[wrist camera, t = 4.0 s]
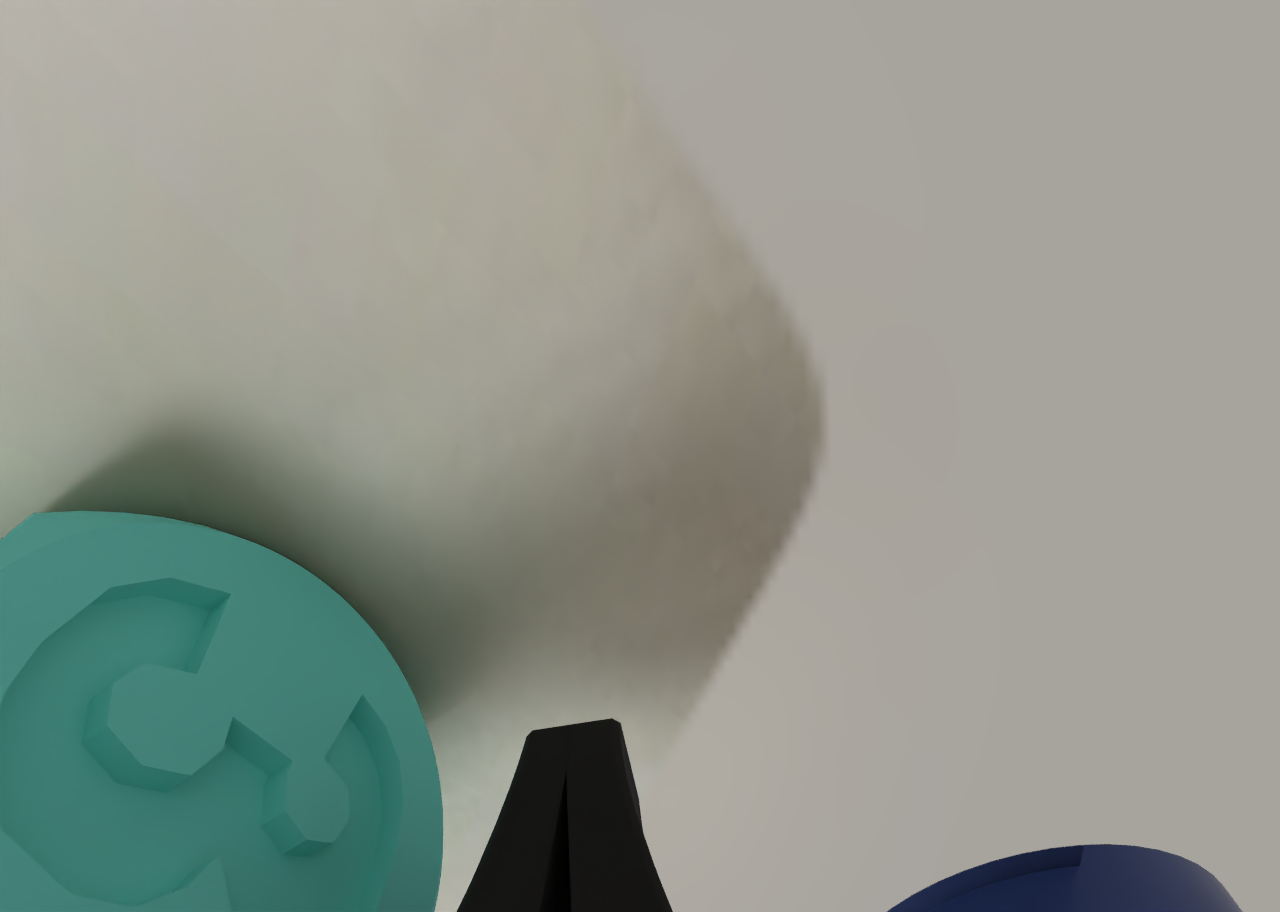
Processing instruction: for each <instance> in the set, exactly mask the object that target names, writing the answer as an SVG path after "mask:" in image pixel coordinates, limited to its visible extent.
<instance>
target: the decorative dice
mask: <svg viewBox="0 0 1280 912" xmlns="http://www.w3.org/2000/svg"><path fill="white" fill-rule="evenodd" d="M442 855H443V808H442V798H441V788H440V780H439V774H438V768H437V764H436V759H435V755H434V751H433V747H432V743H431V740H430V736H429V733H428V730H427V727H426V724H425V721H424V718H423V716H422V713H421V711H420V708H419V706H418V703H417V701H416V699H415V697H414V694H413V692H412V690H411V688H410V686H409V684H408V682H407V680H406V679H405V677H404V675H403V673H402V672H401V670H400V668H399V666H398V665H397V663H396V662H395V660H394V658H393V657H392V655H391V654H390V652H389V651H388V649H387V648H386V647H385V645H384V644H383V642H382V641H381V640H380V638H379V637H378V636H377V635H376V633H375V632H374V631H373V629H372V628H371V627H370V626H369V625H368V624H367V623H366V621H365V620H364V619H363V618H362V617H361V616H360V615H359V614H358V613H357V612H356V611H355V610H354V609H353V608H352V607H351V605H349V604H348V603H347V602H346V601H345V600H344V599H343V598H342V597H341V596H340V595H339V594H337V593H336V592H335V591H334V590H333V589H331V588H330V587H329V586H328V585H327V584H325V583H324V582H323V581H321V580H320V579H319V578H317V577H316V576H315V575H313V574H312V573H310V572H309V571H307V570H306V569H304V568H303V567H301V566H300V565H298V564H296V563H294V562H293V561H291V560H289V559H287V558H286V557H284V556H282V555H280V554H278V553H276V552H274V551H272V550H270V549H268V548H265V547H263V546H261V545H259V544H256V543H254V542H251V541H248V540H245V539H243V538H240V537H237V536H234V535H231V534H228V533H225V532H222V531H219V530H216V529H213V528H210V527H207V526H204V525H199V524H195V523H190V522H185V521H180V520H176V519H171V518H166V517H159V516H150V515H142V514H134V513H126V512H99V511H67V512H45V513H33V514H32V515H31V516H29V517H28V518H27V519H26V520H24V521H23V522H22V523H21V524H19V525H18V526H17V527H16V528H14V529H13V530H12V531H11V532H10V533H8V534H7V535H6V536H5V537H4V538H2V539H1V540H0V912H434V911H435V906H436V901H437V896H438V890H439V884H440V877H441V867H442Z"/></svg>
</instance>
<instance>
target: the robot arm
mask: <svg viewBox="0 0 1280 912" xmlns="http://www.w3.org/2000/svg"><path fill="white" fill-rule="evenodd" d="M457 912H673V911H672V909H671V906H670V904H669V901H668V899H667V897H666V894H665V892H664V889H663V887H662V884H661V882H660V879H659V877H658V874H657V871H656V868H655V866H654V863H653V860H652V857H651V855H650V852H649V849H648V846H647V843H646V840H645V837H644V834H643V829H642V822H641V813H640V805H639V798H638V794H637V790H636V786H635V781H634V777H633V773H632V769H631V765H630V761H629V756H628V752H627V748H626V744H625V740H624V736H623V731H622V727H621V723H620V722H618V721H616V720H614V719H612V718H611V719H605V720H598V721H592V722H585V723H579V724H572V725H566V726H559V727H552V728H546V729H539V730H533V731H532V732H531V733H530V734H529V735H528V736H527V737H526V741H525V744H524V747H523V751H522V754H521V757H520V760H519V763H518V766H517V769H516V772H515V775H514V777H513V780H512V783H511V786H510V788H509V791H508V794H507V797H506V799H505V802H504V804H503V807H502V809H501V812H500V815H499V817H498V820H497V822H496V825H495V827H494V830H493V832H492V834H491V837H490V839H489V841H488V844H487V846H486V848H485V851H484V853H483V855H482V858H481V860H480V863H479V865H478V867H477V870H476V872H475V874H474V876H473V879H472V881H471V883H470V885H469V887H468V890H467V892H466V894H465V896H464V898H463V900H462V902H461V904H460V906H459V908H458V910H457Z"/></svg>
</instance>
